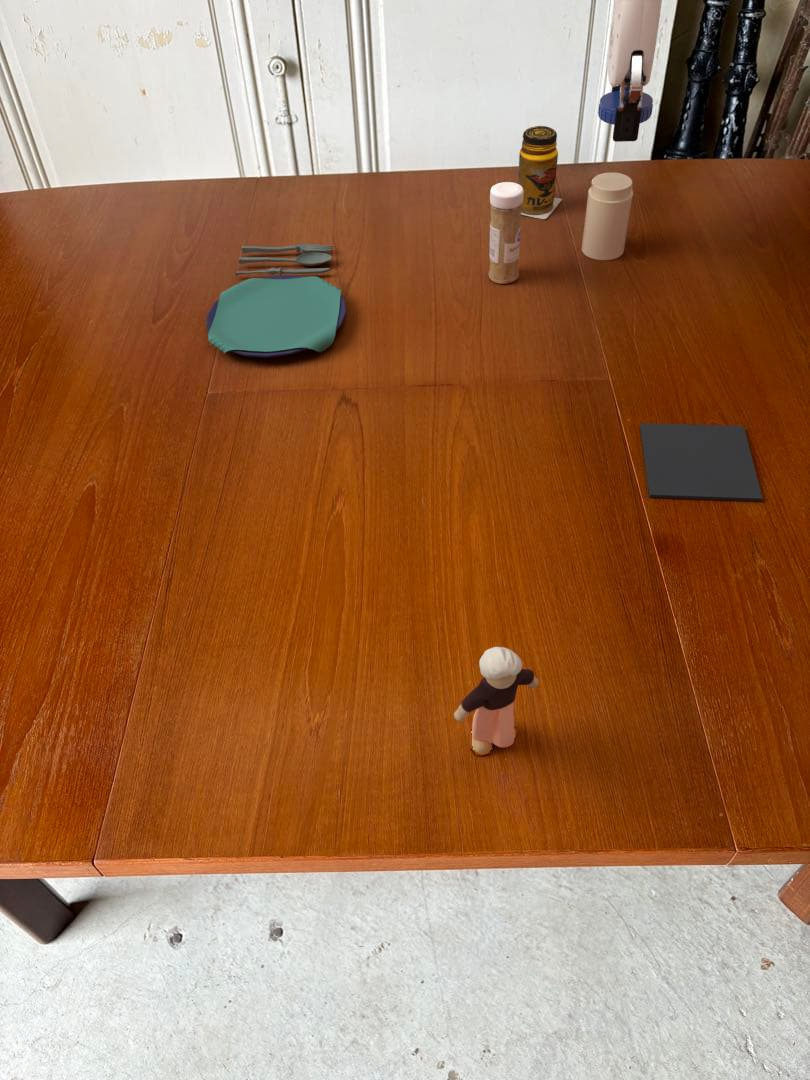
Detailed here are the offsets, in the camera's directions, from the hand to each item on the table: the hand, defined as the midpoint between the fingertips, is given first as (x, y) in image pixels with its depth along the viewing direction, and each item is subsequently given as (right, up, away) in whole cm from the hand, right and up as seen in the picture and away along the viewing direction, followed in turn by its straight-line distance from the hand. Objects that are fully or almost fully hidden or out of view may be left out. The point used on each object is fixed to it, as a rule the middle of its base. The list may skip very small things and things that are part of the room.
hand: (622, 127), depth 111 cm
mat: (+4, -47, -18) cm, 51 cm away
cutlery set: (-48, -22, +8) cm, 53 cm away
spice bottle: (-15, -17, +10) cm, 25 cm away
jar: (+1, -12, +14) cm, 18 cm away
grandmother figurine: (-22, -74, -39) cm, 86 cm away
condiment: (-9, -1, +24) cm, 26 cm away
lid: (0, +2, -2) cm, 3 cm away
